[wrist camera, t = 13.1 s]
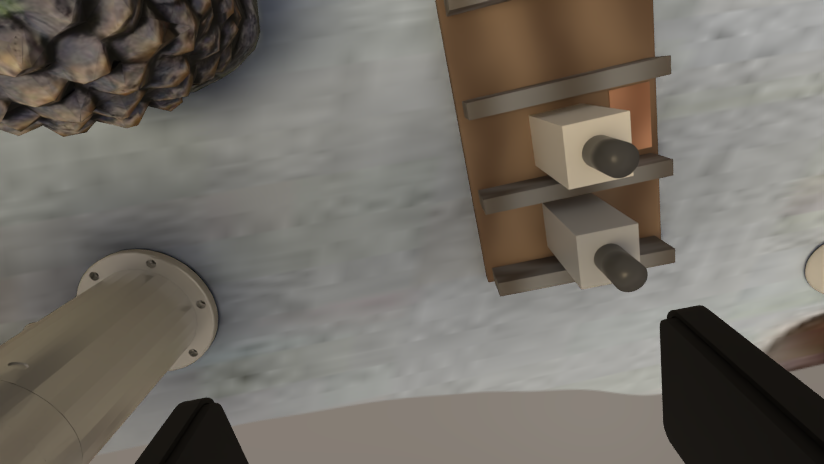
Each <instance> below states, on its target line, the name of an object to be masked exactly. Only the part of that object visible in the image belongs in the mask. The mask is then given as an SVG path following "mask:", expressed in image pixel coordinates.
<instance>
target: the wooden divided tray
mask: <svg viewBox="0 0 824 464" xmlns="http://www.w3.org/2000/svg"><path fill="white" fill-rule="evenodd" d="M435 2H436V7H437V13H438V18H439V23H440V29H441V34H442V40H443V45H444V50H445V56H446V61H447V66H448V72H449V77H450V83H451V88H452V93H453V99H454V104H455V109H456V115H457V120H458V125H459V131H460V136H461V142H462V147H463V152H464V158H465V163H466V168H467V174H468V179H469V185H470V190H471V195H472V201H473V206H474V211H475V217H476V222H477V228H478V233H479V238H480V244H481V249H482V254H483V260H484V265H485V270H486V276H487V279H488V282H493V281H495V284H496V286H497V289H498V292H499V294H500V296H505V295H510V294H516V293H521V292H526V291H531V290H536V289H541V288H546V287H551V286H557V285H562V284H567V283H572V282H575V281H574V279H573V278H572V277H571V275H570V274H569V273H568V272H567V270H566V269H565V268H564V267H563V265H562V264H561V263H560V262H559V260H558V259H557V258H556V256H555V255H554V254H553V253H552V251H551V250H550V249H549V248H548V246H547V238H546V231H545V223H544V215H543V208H542V203H545V202H549V201H554V200H559V199H563V198H568V197H573V196H578V195H582V194H587V193H592V194H594V195H595V196H597V197H598V198H600V199H601V200H603V201H605V202H606V203H608V204H609V205H611V206H612V207H614V208H615V209H617V210H618V211H620V212H622V213H623V214H625V215H626V216H628V217H629V218H631V219H632V220H634V221H635V222H637V223H638V228H639V248H640V263H641V264H642V265H644V266H645V268H649V267H654V266H659V265H664V264H669V263H674V262H675V248H673V247H671V246H670V245H668V244H667V243H665V242H664V241H662V240H661V228H660V198H659V178H663V177H667V176H672V175H673V159H670V158H667V157H664V156H660V155H658V138H657V108H656V77H660V76H665V75H669V74H671V56H660V57H655V48H654V18H653V0H436V1H435ZM576 104H587V105H594V106H601V107H608V108H615V109H621V110H628V111H630V121H631V138H632V144H633V145H634V146H635V147H636V148H637V149H638V151H639V163H638V166H637V167H636V169H635V170H634V171H633V173H634V176H630V177H626V178H621V179H616V180H612V181H607V182H603V183H598V184H593V185H589V186H584V187H580V188H575V189H570V190H569V189H567V188H566V187H564V186H563V185H562V184H560V183H559V182H558V181H556V180H555V179H553V178H552V177H551V176H549V175H548V174H546V173H545V172H544V171H542V170H541V169H540V168H538V167H537V166H535V159H534V151H533V144H532V136H531V129H530V122H529V115H533V114H538V113H542V112H546V111H551V110H555V109H559V108H563V107H568V106H572V105H576Z"/></svg>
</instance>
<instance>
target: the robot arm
mask: <svg viewBox="0 0 824 464" xmlns="http://www.w3.org/2000/svg"><path fill="white" fill-rule="evenodd" d="M217 329H218V313H217V307H216V304H215V301H214V299H213V296H212V294H211V292H210V291H209V289H208V287H207V286H206V284H205V283H204V282H203V281H202V280H201V278H200V277H199V276H198V275H197V274H196V273H195V272H193V271H192V270H191V269H190V268H189V267H187V266H186V265H185V264H183V263H181V262H180V261H178V260H176V259H175V258H172V257H170V256H167V255H165V254H162V253H159V252H155V251H150V250H141V249H131V250H123V251H119V252H116V253H113V254H110V255H108V256H106V257H104V258H103V259H101V260H99V261H97V262H96V263H95V264H93V265H92V266H91V267H90V268H89V269H88V270H87V271H86V272H85V274H84V275H83V276H82V278H81V281H80V283H79V285H78V289H77V295H76V297H75V298H74V299H72V300H71V301H69V302H67V303H66V304H64V305H63V306H61V307H60V308H58V309H57V310H55V311H53V312H52V313H50V314H49V315H47V316H46V317H44V318H42V319H41V320H39V321H38V322H34V323H29V324H28V325H26V326H25V327H24V329H23V331H22V332H21V333H19V334H17V335H16V336H14V337H13V338H11V339H10V340H8V341H7V342H5V343H3V344H2V345H0V464H89V463H90V461H91V460H92V459H93V458H94V457H95V456H96V455H97V453H98V452H99V451H100V450H101V449H102V448H103V446H104V445H105V444H106V443H107V442H108V440H109V439H110V438H111V437H112V436H113V435H114V433H115V432H116V431H117V430H118V429H119V428H120V426H121V425H122V424H123V423H124V422H125V420H126V419H127V418H128V417H129V416H130V415H131V413H132V412H133V411H134V410H135V409H136V408H137V406H138V405H139V404H140V403H141V402H142V400H143V399H144V398H145V397H146V396H147V395H148V393H149V392H150V391H151V390H152V389H153V388H154V386H155V385H156V384H157V383H158V382H159V380H160V379H161V378H162V377H163V376H164V375H165V373H166V372H167V371H174V370H177V369H181V368H184V367H186V366H188V365H190V364H192V363H194V362H195V361H196V360H198V359H199V358H200V357H201V356H202V355H203V354H204V353H205V352H206V351H207V349H208V348H209V347H210V345H211V343H212V342H213V340H214V338H215V335H216V332H217ZM660 345H661V373H662V400H663V424H664V429H665V431H666V435H667V437H668V439H669V441H670V443H671V444H672V446H673V447H674V448H675V450H676V451H677V453H678V454H679V456H680V457H681V458H682V460H683V461H684V463H685V464H824V399H823V398H822V397H821V396H819V395H818V394H817V393H815V392H814V391H813V390H812V389H810V388H809V387H808V386H806V385H805V384H804V383H803V382H801V381H800V380H799V379H798V378H796V377H795V376H794V375H792V374H791V373H790V372H788V371H787V370H785V369H784V368H783V367H782V366H780V365H779V364H778V363H776V362H775V361H774V360H773V359H771V358H770V357H769V356H767V355H766V354H765V353H764V352H762V351H761V350H760V349H759V348H757V347H756V346H755V345H753V344H752V343H751V342H750V341H748V340H747V339H746V338H744V337H743V336H742V335H741V334H739V333H738V332H737V331H736V330H734V329H733V328H732V327H730V326H729V325H728V324H727V323H725V322H724V321H723V320H721V319H720V318H719V317H718V316H716V315H715V314H714V313H712V312H711V311H710V310H709V309H707V308H706V307H704V306H700V305H698V306H693V307H688V308H682V309H677V310H672V311H670V312H669V313H668V315H667V319H664V320H662V321H661V323H660ZM135 464H248V461H247V459H246V457H245V455H244V453H243V451H242V449H241V446H240V444H239V442H238V440H237V438H236V436H235V434H234V432H233V429H232V427H231V425H230V423H229V421H228V419H227V417H226V414H225V412H224V410H223V408H222V406H221V405H220V404H219V403H214V401H213V400H212V399H210V398H202V399H196V400H191V401H186V402H182V403H180V404H179V405H178V406H177V407H176V408H175V409H174V410H173V412H172V413H171V415H170V416H169V417H168V419H167V420H166V421H165V423H164V424H163V426H162V427H161V428H160V430H159V431H158V432H157V434H156V435H155V436H154V438H153V439H152V441H151V442H150V443H149V445H148V446H147V447H146V449H145V450H144V452H143V453H142V454H141V456H140V457H139V459H138V460H137V461H136V463H135Z"/></svg>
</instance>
